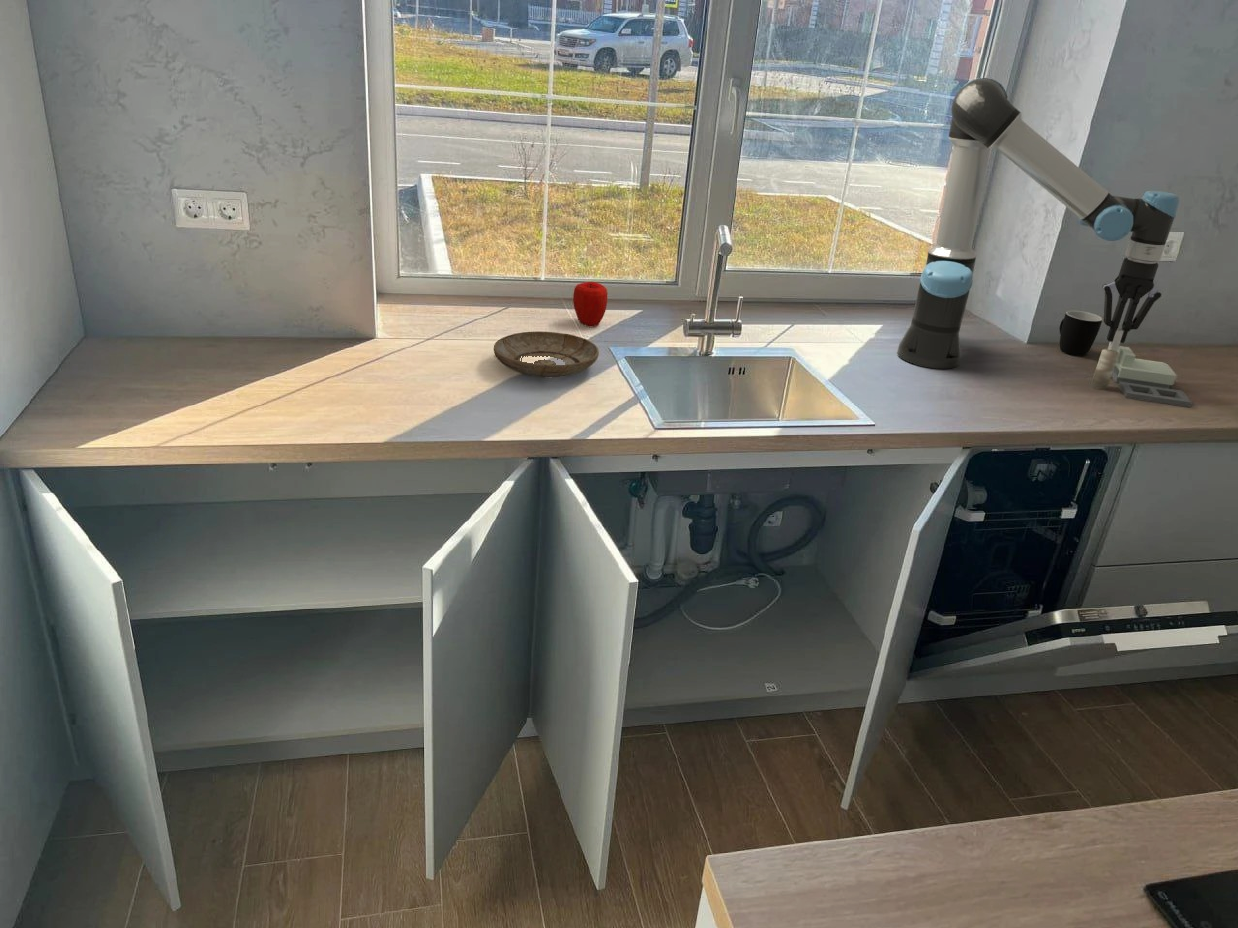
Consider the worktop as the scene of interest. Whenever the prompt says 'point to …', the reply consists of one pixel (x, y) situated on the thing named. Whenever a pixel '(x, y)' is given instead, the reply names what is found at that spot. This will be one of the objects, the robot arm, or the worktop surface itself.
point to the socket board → (1154, 394)
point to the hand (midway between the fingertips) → (1111, 354)
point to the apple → (590, 302)
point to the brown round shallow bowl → (546, 353)
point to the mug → (1078, 332)
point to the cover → (1143, 368)
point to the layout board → (1118, 379)
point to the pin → (1104, 369)
